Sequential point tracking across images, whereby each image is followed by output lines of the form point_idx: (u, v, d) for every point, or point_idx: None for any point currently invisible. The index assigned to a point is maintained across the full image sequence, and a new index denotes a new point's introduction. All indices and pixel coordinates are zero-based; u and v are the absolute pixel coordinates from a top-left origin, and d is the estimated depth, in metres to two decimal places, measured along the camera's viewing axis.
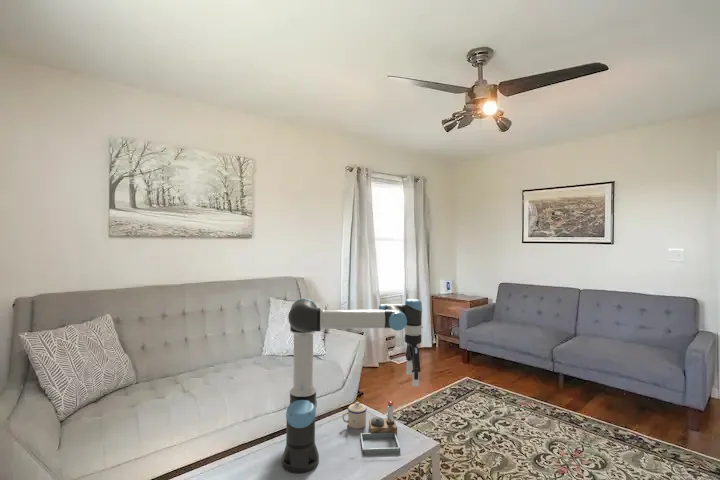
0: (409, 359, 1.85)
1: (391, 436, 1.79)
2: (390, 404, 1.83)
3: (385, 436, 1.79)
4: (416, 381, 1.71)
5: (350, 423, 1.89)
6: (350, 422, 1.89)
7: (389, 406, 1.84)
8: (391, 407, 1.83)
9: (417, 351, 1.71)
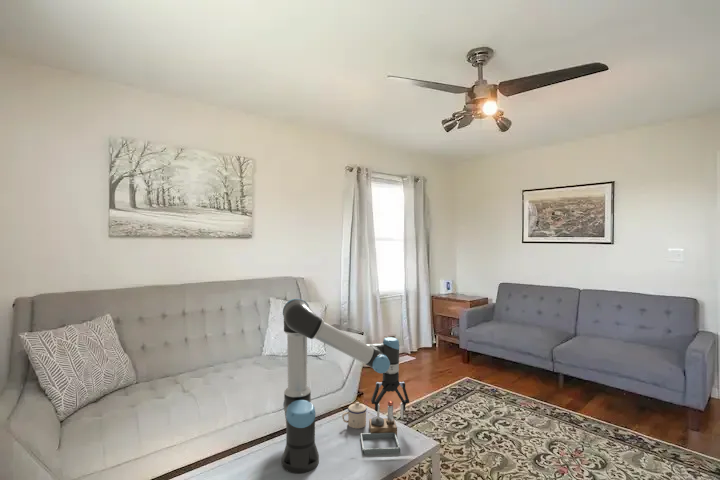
0: None
1: (391, 436, 1.79)
2: (390, 404, 1.83)
3: (385, 436, 1.79)
4: (377, 413, 1.84)
5: (350, 423, 1.89)
6: (350, 422, 1.89)
7: (389, 406, 1.84)
8: (391, 407, 1.83)
9: (376, 385, 1.83)
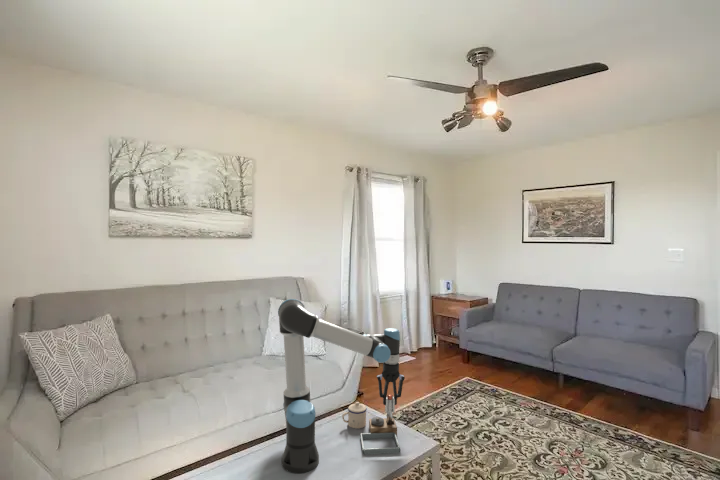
0: (394, 396, 1.85)
1: (391, 436, 1.79)
2: (390, 398, 1.83)
3: (385, 436, 1.79)
4: (385, 407, 1.84)
5: (350, 423, 1.89)
6: (350, 422, 1.89)
7: (389, 400, 1.83)
8: (391, 401, 1.83)
9: None
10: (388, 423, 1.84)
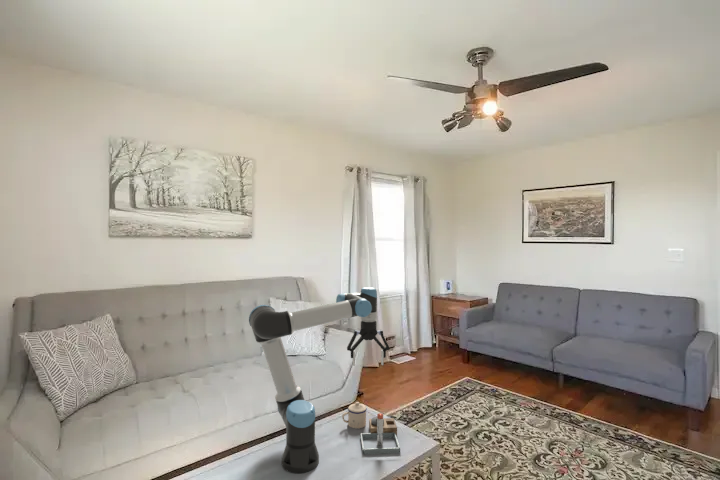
0: (383, 349, 1.87)
1: (391, 436, 1.79)
2: (380, 417, 1.71)
3: (385, 436, 1.79)
4: (353, 360, 1.86)
5: (350, 423, 1.89)
6: (350, 422, 1.89)
7: (379, 419, 1.71)
8: (381, 420, 1.71)
9: (354, 333, 1.85)
10: (378, 444, 1.72)
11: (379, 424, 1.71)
